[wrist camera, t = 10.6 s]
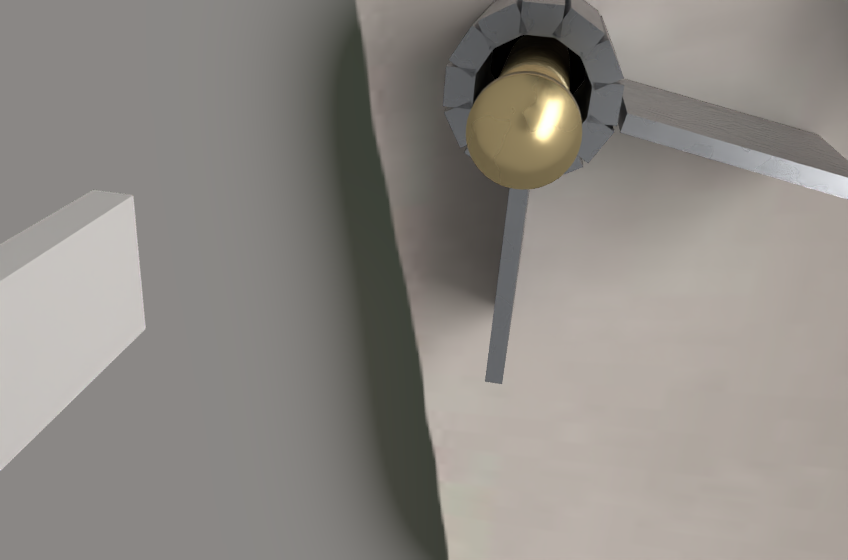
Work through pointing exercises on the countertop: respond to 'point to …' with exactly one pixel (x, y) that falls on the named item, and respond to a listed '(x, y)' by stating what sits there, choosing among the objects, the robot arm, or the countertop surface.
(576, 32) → the hinge leaf fixed
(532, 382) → the countertop surface
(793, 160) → the hinge leaf swing
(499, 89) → the pin
